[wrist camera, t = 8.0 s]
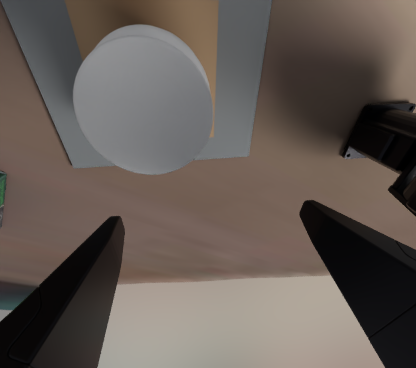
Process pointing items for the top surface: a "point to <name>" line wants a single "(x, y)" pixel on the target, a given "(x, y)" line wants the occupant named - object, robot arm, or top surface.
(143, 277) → the top surface
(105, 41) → the supplement bottle
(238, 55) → the build mat
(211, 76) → the base block
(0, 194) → the coffee box
